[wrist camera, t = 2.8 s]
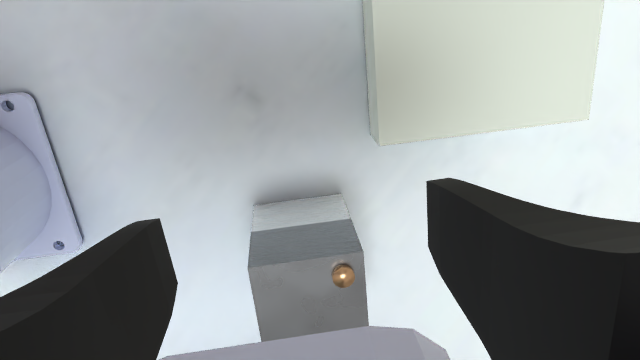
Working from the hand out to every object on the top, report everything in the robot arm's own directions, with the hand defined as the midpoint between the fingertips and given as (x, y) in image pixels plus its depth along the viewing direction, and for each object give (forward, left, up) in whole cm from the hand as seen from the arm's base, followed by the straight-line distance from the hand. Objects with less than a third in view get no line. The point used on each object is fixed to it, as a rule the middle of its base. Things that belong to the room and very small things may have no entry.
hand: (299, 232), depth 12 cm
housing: (0, -7, -11) cm, 12 cm away
